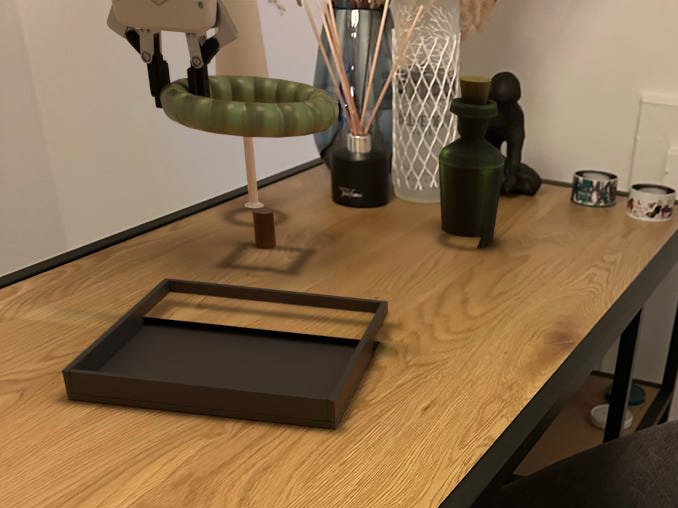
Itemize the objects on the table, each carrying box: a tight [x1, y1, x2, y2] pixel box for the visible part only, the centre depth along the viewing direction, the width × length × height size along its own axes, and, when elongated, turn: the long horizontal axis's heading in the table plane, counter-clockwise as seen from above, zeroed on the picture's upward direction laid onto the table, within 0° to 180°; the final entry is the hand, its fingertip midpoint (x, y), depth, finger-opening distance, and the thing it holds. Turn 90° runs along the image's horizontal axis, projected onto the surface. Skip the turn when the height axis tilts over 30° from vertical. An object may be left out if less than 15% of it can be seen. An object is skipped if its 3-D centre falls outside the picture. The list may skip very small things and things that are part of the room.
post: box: [251, 207, 277, 250], centre depth 108 cm, size 8×8×5 cm
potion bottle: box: [437, 75, 505, 249], centre depth 114 cm, size 8×8×18 cm
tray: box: [61, 277, 389, 430], centre depth 87 cm, size 23×23×3 cm
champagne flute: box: [214, 0, 270, 209], centre depth 114 cm, size 7×7×24 cm
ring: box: [160, 74, 340, 139], centre depth 98 cm, size 18×18×3 cm
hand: (182, 105), depth 99 cm, fingers closed on ring, 3 cm apart
